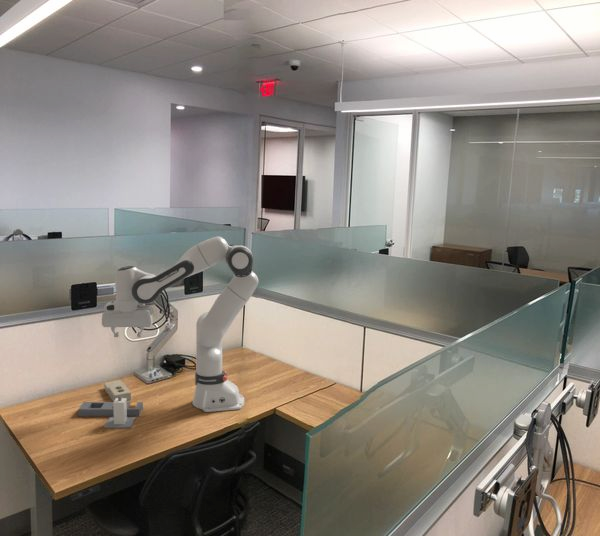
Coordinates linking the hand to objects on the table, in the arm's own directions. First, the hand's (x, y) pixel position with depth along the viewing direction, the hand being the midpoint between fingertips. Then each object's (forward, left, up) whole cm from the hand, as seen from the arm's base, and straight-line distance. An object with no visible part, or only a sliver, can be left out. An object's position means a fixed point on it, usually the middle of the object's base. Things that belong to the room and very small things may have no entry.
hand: (127, 336), depth 216 cm
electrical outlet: (+8, -10, -30) cm, 33 cm away
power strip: (+5, +9, -30) cm, 31 cm away
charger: (-1, +18, -29) cm, 34 cm away
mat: (-1, +18, -30) cm, 35 cm away
